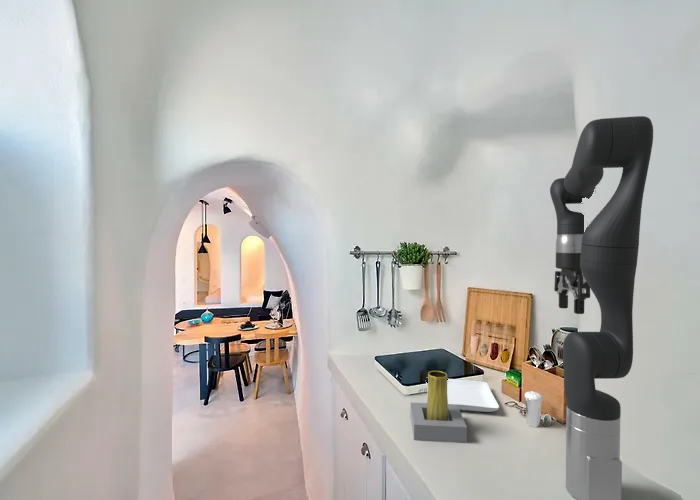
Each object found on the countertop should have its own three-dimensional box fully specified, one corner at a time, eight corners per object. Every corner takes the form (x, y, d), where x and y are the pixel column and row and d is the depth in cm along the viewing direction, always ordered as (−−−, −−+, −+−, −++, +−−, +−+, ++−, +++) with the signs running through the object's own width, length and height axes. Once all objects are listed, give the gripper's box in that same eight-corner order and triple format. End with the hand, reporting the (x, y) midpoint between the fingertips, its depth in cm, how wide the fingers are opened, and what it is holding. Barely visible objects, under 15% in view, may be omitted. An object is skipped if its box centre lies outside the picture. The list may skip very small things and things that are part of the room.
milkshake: (547, 429, 102) (547, 393, 101) (526, 427, 103) (527, 392, 102) (542, 421, 106) (542, 387, 106) (522, 419, 107) (522, 385, 107)
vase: (432, 431, 98) (433, 378, 98) (422, 421, 104) (422, 371, 104) (452, 428, 100) (453, 376, 100) (441, 418, 106) (441, 369, 105)
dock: (466, 442, 95) (467, 427, 95) (414, 439, 96) (414, 424, 96) (456, 418, 108) (457, 404, 108) (410, 415, 109) (410, 402, 109)
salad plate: (500, 418, 109) (500, 406, 109) (427, 412, 112) (427, 401, 112) (486, 390, 130) (486, 380, 130) (425, 386, 133) (425, 376, 133)
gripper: (601, 252, 92) (600, 316, 93) (572, 250, 107) (572, 306, 107) (570, 251, 93) (569, 315, 93) (545, 250, 107) (545, 306, 108)
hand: (570, 310), depth 100 cm, fingers open, 8 cm apart
